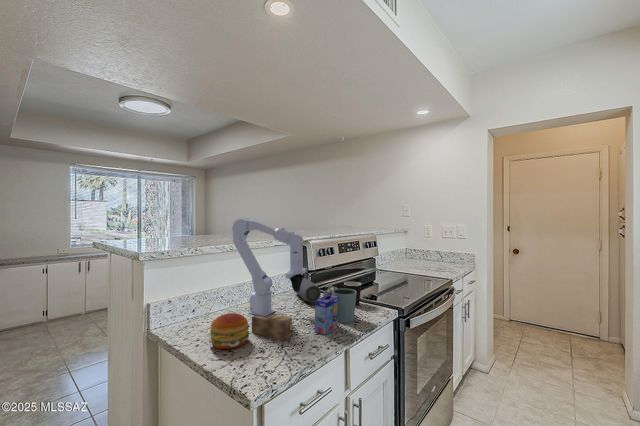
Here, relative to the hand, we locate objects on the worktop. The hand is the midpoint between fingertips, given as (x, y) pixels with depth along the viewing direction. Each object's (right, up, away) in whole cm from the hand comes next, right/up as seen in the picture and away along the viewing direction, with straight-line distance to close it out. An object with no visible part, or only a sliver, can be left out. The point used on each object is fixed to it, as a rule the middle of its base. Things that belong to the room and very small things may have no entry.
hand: (296, 291), depth 132 cm
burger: (-21, -11, -30) cm, 38 cm away
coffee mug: (+25, -10, +14) cm, 31 cm away
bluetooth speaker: (+3, -10, +22) cm, 25 cm away
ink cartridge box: (+13, -10, -18) cm, 25 cm away
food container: (+16, -10, +3) cm, 19 cm away
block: (-6, -10, -19) cm, 23 cm away
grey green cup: (+21, -10, -8) cm, 24 cm away
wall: (-8, -10, -24) cm, 27 cm away
